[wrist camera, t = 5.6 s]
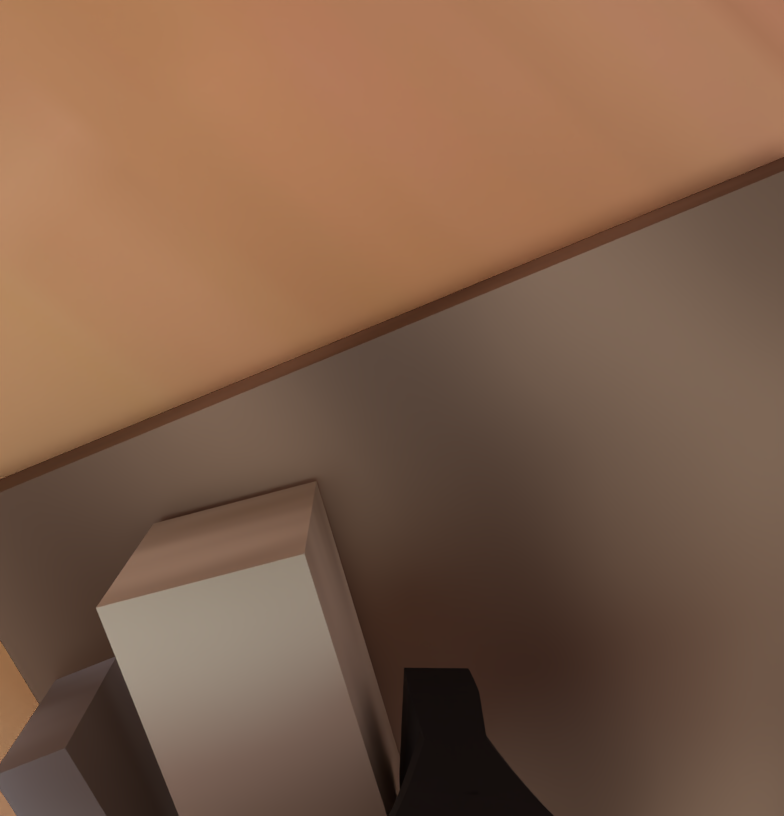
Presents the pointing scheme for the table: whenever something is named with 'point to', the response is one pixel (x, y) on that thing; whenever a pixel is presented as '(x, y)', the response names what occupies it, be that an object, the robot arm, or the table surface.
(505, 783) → the robot arm
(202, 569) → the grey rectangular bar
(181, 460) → the stool seat panel
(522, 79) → the table surface
